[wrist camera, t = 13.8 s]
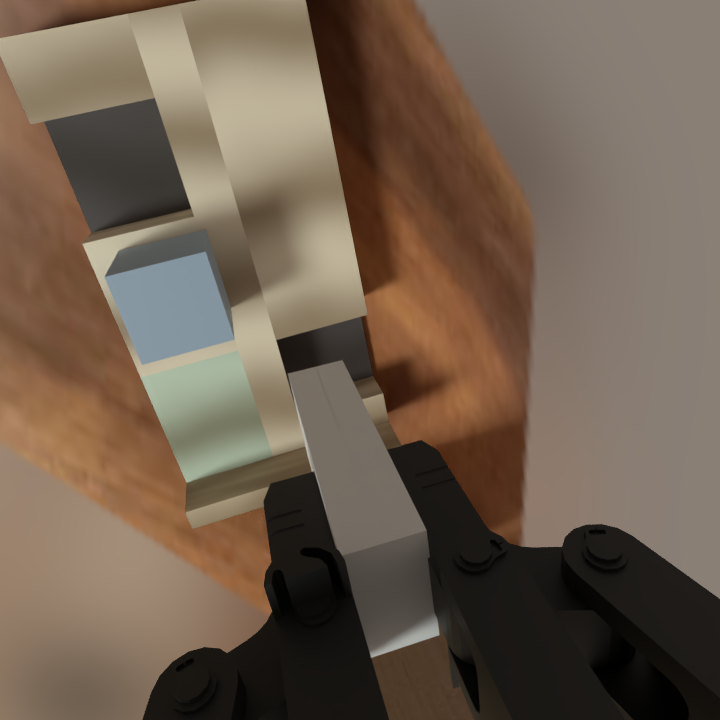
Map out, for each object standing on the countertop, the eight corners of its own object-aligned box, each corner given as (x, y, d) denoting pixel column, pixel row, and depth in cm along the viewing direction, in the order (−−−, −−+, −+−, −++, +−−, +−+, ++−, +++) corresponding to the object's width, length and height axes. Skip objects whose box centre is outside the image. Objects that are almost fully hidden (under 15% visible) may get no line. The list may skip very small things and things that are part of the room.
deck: (13, 44, 23) (-32, 34, 19) (293, -11, 25) (311, -32, 20) (194, 472, 34) (192, 529, 30) (380, 416, 36) (404, 462, 31)
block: (414, 451, 38) (594, 767, 20) (437, 553, 42) (599, 879, 25) (271, 501, 36) (331, 880, 19) (312, 600, 41) (389, 975, 24)
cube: (118, 250, 25) (104, 276, 22) (205, 229, 26) (205, 251, 22) (150, 329, 27) (142, 365, 24) (231, 307, 28) (234, 339, 24)
